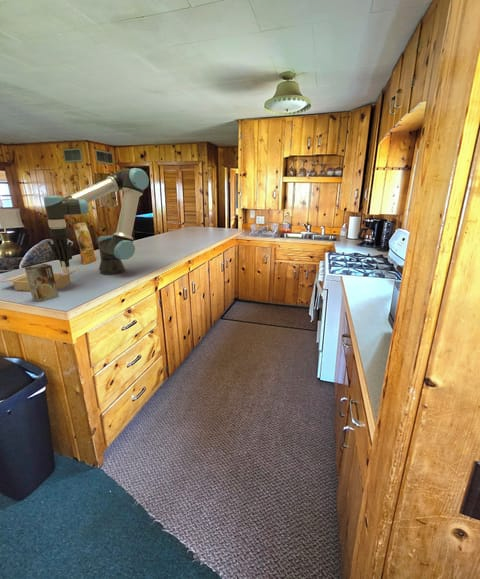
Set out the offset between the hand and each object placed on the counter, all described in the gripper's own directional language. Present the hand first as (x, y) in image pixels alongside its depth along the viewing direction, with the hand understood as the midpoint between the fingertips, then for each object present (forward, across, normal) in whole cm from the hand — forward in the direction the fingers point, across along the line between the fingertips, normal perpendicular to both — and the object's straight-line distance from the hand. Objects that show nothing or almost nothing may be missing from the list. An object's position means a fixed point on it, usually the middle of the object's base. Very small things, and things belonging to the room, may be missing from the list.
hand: (66, 272), depth 156 cm
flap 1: (+3, +25, 0) cm, 26 cm away
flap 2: (+3, +4, 0) cm, 5 cm away
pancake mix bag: (+9, +24, -56) cm, 61 cm away
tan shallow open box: (+8, +14, 0) cm, 17 cm away
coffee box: (+9, +1, +16) cm, 18 cm away
